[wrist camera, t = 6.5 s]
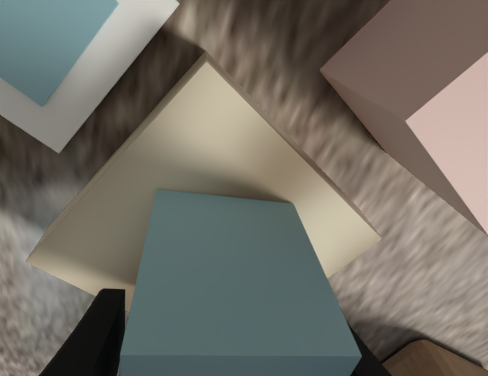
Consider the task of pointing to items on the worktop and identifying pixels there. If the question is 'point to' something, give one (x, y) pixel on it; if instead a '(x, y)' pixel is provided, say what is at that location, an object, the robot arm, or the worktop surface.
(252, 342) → the teal cube
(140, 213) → the birch block
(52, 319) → the worktop surface
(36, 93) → the card
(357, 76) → the rose cube
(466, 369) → the wooden block
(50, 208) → the worktop surface
